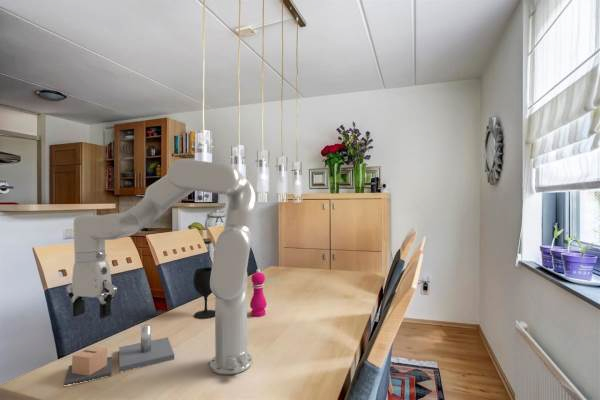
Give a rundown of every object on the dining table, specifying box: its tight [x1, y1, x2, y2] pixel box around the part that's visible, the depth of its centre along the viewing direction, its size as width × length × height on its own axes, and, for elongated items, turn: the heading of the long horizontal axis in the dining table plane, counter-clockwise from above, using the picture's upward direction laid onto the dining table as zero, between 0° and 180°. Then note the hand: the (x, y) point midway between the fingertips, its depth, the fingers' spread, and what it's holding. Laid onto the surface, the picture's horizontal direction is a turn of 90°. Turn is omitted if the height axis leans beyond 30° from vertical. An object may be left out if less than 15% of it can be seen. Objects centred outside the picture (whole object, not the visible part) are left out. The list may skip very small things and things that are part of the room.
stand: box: [118, 337, 175, 372], centre depth 102 cm, size 15×15×2 cm
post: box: [140, 323, 152, 353], centre depth 102 cm, size 3×3×8 cm
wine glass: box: [192, 267, 215, 320], centre depth 139 cm, size 10×10×20 cm
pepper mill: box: [249, 268, 267, 318], centre depth 139 cm, size 7×7×20 cm
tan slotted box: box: [71, 345, 108, 376], centre depth 92 cm, size 6×6×5 cm
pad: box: [63, 356, 113, 386], centre depth 92 cm, size 11×11×1 cm
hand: (92, 315), depth 92 cm, fingers open, 9 cm apart
